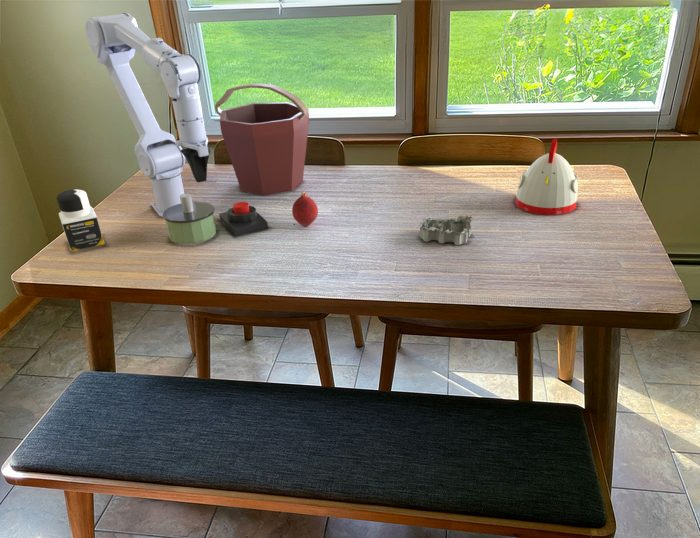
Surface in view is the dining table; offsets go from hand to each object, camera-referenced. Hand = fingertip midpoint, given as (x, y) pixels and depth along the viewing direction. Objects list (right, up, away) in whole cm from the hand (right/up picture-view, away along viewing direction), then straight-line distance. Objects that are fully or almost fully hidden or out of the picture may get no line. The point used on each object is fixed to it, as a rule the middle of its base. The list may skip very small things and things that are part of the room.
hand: (201, 180), depth 138 cm
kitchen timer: (+80, -3, +8) cm, 81 cm away
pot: (-2, -12, +1) cm, 12 cm away
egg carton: (+54, -14, -5) cm, 56 cm away
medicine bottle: (-26, -15, -1) cm, 29 cm away
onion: (+24, -10, +3) cm, 26 cm away
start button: (+9, -6, +3) cm, 11 cm away
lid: (-2, -8, -3) cm, 8 cm away
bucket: (+12, +7, +28) cm, 31 cm away
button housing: (+9, -9, +5) cm, 13 cm away
